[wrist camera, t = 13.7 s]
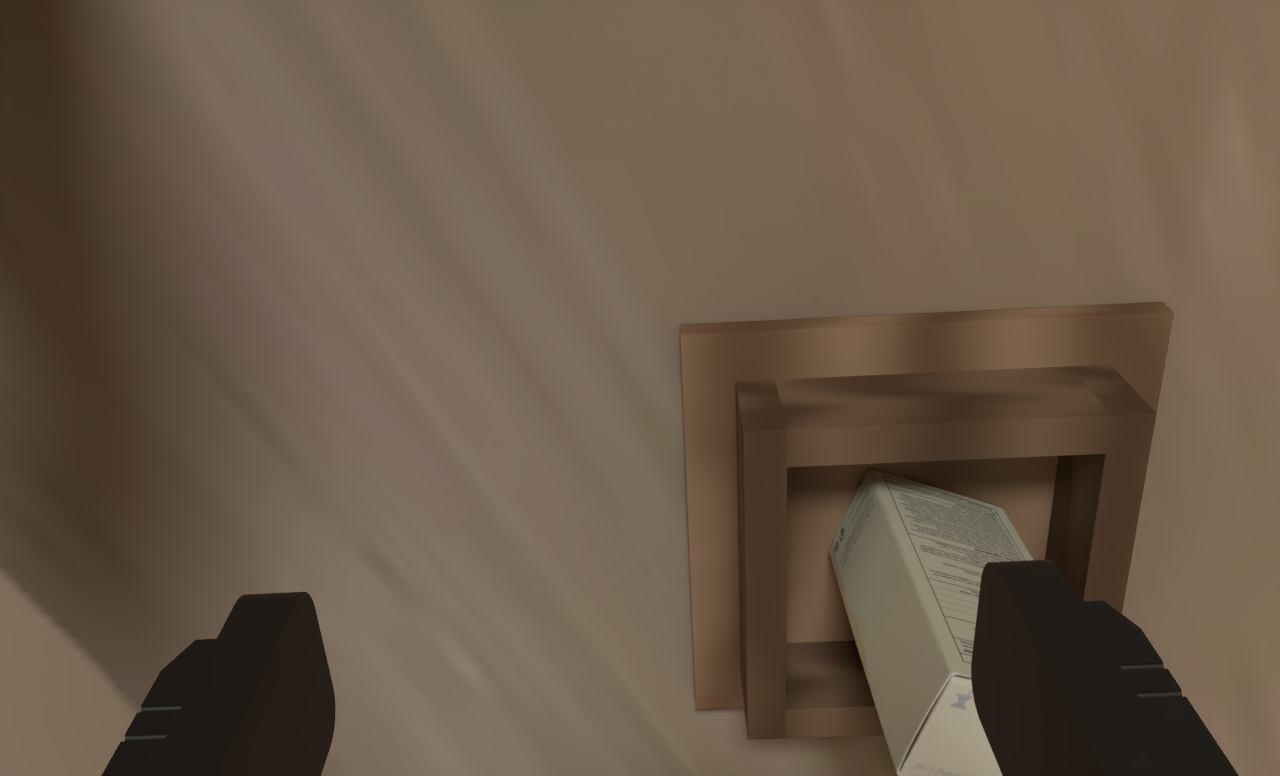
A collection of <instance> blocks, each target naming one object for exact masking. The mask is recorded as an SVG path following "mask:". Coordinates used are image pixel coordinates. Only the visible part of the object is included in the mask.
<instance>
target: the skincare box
mask: <svg viewBox="0 0 1280 776" xmlns="http://www.w3.org/2000/svg"><path fill="white" fill-rule="evenodd" d="M829 557H830V559H831V563H832V566H833V569H834V572H835V576H836V579H837V582H838V586H839V589H840V592H841V595H842V599H843V602H844V605H845V609H846V612H847V615H848V618H849V622H850V625H851V628H852V632H853V635H854V638H855V642H856V645H857V648H858V651H859V655H860V658H861V661H862V664H863V668H864V671H865V674H866V678H867V681H868V684H869V687H870V690H871V693H872V697H873V700H874V703H875V707H876V710H877V713H878V716H879V720H880V723H881V725H882V729H883V732H884V736H885V739H886V742H887V745H888V748H889V752H890V755H891V758H892V761H893V765H894V768H895V771H896V774H897V775H898V776H1002V773H1001V771H1000V768H999V766H998V763H997V761H996V759H995V756H994V754H993V751H992V749H991V746H990V744H989V741H988V739H987V737H986V734H985V732H984V729H983V727H982V724H981V722H980V719H979V717H978V714H977V710H976V706H975V702H974V697H973V690H972V681H971V661H972V652H973V644H974V635H975V627H976V618H977V610H978V601H979V592H980V584H981V577H982V572H983V569H984V566H985V565H986V564H987V563H988V562H1005V561H1027V560H1034V559H1033V557H1032V556H1031V554H1030V552H1029V551H1028V549H1027V548H1026V546H1025V544H1024V543H1023V541H1022V539H1021V538H1020V536H1019V534H1018V533H1017V531H1016V529H1015V528H1014V526H1013V525H1012V523H1011V521H1010V520H1009V518H1008V516H1007V515H1006V513H1005V511H1004V510H1003V509H1002V508H1000V507H996V506H993V505H991V504H987V503H984V502H981V501H978V500H975V499H972V498H969V497H966V496H962V495H959V494H956V493H953V492H949V491H946V490H943V489H939V488H936V487H933V486H929V485H926V484H923V483H920V482H916V481H913V480H910V479H906V478H903V477H899V476H895V475H891V474H888V473H884V472H880V471H877V470H872V469H870V470H868V471H867V472H866V474H865V476H864V478H863V480H862V482H861V484H860V486H859V488H858V490H857V492H856V494H855V496H854V497H853V500H852V502H851V504H850V506H849V508H848V510H847V512H846V514H845V516H844V518H843V520H842V522H841V524H840V526H839V529H838V531H837V533H836V535H835V537H834V540H833V542H832V544H831V546H830V548H829Z"/></svg>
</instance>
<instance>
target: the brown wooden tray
mask: <svg viewBox="0 0 1280 776" xmlns="http://www.w3.org/2000/svg"><path fill="white" fill-rule="evenodd" d="M1173 315H1174V312H1173V311H1172V310H1171V309H1170V308H1169V307H1167V306H1166V305H1165V304H1164V303H1163V302H1154V303H1133V304H1111V305H1090V306H1069V307H1047V308H1026V309H1005V310H984V311H962V312H941V313H920V314H899V315H877V316H856V317H835V318H813V319H792V320H771V321H750V322H728V323H707V324H686V325H680V343H681V367H682V390H683V414H684V438H685V462H686V486H687V510H688V533H689V557H690V581H691V605H692V629H693V653H694V676H695V699H696V709H717V708H745V716H746V725H747V735H748V739H776V738H805V737H834V736H864V735H884V732H883V729H882V725H881V723H880V720H879V716H878V713H877V710H876V707H875V703H874V700H873V697H872V693H871V690H870V687H869V684H868V681H867V678H866V674H865V671H864V668H863V664H862V661H861V658H860V655H859V651H858V648H857V645H856V642H855V638H854V635H853V632H852V628H851V625H850V622H849V618H848V615H847V612H846V609H845V605H844V602H843V599H842V595H841V592H840V589H839V586H838V582H837V579H836V576H835V572H834V569H833V566H832V563H831V559H830V557H829V548H830V546H831V544H832V542H833V540H834V537H835V535H836V533H837V531H838V529H839V526H840V524H841V522H842V520H843V518H844V516H845V514H846V512H847V510H848V508H849V506H850V504H851V502H852V500H853V497H854V496H855V494H856V492H857V490H858V488H859V486H860V484H861V482H862V480H863V478H864V476H865V474H866V472H867V471H868V470H870V469H872V470H877V471H880V472H884V473H888V474H891V475H895V476H899V477H903V478H906V479H910V480H913V481H916V482H920V483H923V484H926V485H929V486H933V487H936V488H939V489H943V490H946V491H949V492H953V493H956V494H959V495H962V496H966V497H969V498H972V499H975V500H978V501H981V502H984V503H987V504H991V505H993V506H996V507H1000V508H1002V509H1003V510H1004V511H1005V513H1006V515H1007V516H1008V518H1009V520H1010V521H1011V523H1012V525H1013V526H1014V528H1015V529H1016V531H1017V533H1018V534H1019V536H1020V538H1021V539H1022V541H1023V543H1024V544H1025V546H1026V548H1027V549H1028V551H1029V552H1030V554H1031V556H1032V557H1033V559H1034V560H1053V561H1055V562H1056V563H1057V564H1058V566H1059V567H1060V569H1061V570H1062V572H1063V574H1064V575H1065V577H1066V579H1067V580H1068V582H1069V583H1070V585H1071V587H1072V588H1073V590H1074V592H1075V593H1076V595H1077V597H1078V598H1079V600H1080V602H1082V601H1105V602H1106V603H1108V604H1109V605H1110V606H1112V607H1113V608H1114V609H1115V610H1117V611H1118V612H1119V613H1121V614H1122V609H1123V603H1124V597H1125V591H1126V586H1127V580H1128V574H1129V568H1130V562H1131V557H1132V551H1133V545H1134V539H1135V534H1136V528H1137V522H1138V516H1139V511H1140V505H1141V499H1142V493H1143V488H1144V482H1145V476H1146V470H1147V464H1148V459H1149V453H1150V447H1151V441H1152V436H1153V430H1154V424H1155V418H1156V413H1157V407H1158V401H1159V395H1160V389H1161V384H1162V378H1163V372H1164V366H1165V361H1166V355H1167V349H1168V343H1169V338H1170V332H1171V326H1172V320H1173Z"/></svg>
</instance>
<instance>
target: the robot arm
mask: <svg viewBox="0 0 1280 776" xmlns="http://www.w3.org/2000/svg"><path fill="white" fill-rule="evenodd" d="M971 681H972V690H973V697H974V702H975V706H976V710H977V714H978V717H979V719H980V722H981V724H982V727H983V729H984V732H985V734H986V737H987V739H988V741H989V744H990V746H991V749H992V751H993V754H994V756H995V759H996V761H997V763H998V766H999V768H1000V771H1001V773H1002V776H1238V774H1237V773H1236V771H1235V770H1234V768H1233V766H1232V765H1231V763H1230V762H1229V760H1228V759H1227V757H1226V756H1225V754H1224V753H1223V751H1222V750H1221V748H1220V747H1219V745H1218V744H1217V742H1216V741H1215V739H1214V738H1213V736H1212V735H1211V733H1210V732H1209V730H1208V729H1207V727H1206V726H1205V724H1204V723H1203V721H1202V720H1201V718H1200V717H1199V715H1198V714H1197V712H1196V711H1195V709H1194V708H1193V706H1192V705H1191V703H1190V702H1189V700H1188V699H1187V697H1183V696H1182V693H1181V688H1180V687H1179V685H1178V684H1177V682H1176V681H1175V679H1174V678H1173V676H1172V675H1171V673H1170V672H1169V670H1168V669H1164V667H1163V661H1162V660H1161V658H1160V657H1159V655H1158V654H1157V652H1156V651H1155V649H1154V648H1153V646H1152V645H1151V643H1150V642H1149V640H1148V639H1147V637H1146V636H1145V634H1144V633H1143V631H1142V630H1141V628H1139V627H1138V626H1137V625H1135V624H1134V623H1133V622H1131V621H1130V620H1129V619H1127V618H1126V617H1125V616H1123V615H1122V614H1121V613H1119V612H1118V611H1117V610H1115V609H1114V608H1113V607H1112V606H1110V605H1109V604H1108V603H1106V602H1105V601H1082V602H1080V600H1079V598H1078V597H1077V595H1076V593H1075V592H1074V590H1073V588H1072V587H1071V585H1070V583H1069V582H1068V580H1067V579H1066V577H1065V575H1064V574H1063V572H1062V570H1061V569H1060V567H1059V566H1058V564H1057V563H1056V562H1055V561H1053V560H1027V561H1005V562H988V563H987V564H986V565H985V566H984V569H983V572H982V577H981V584H980V592H979V601H978V610H977V618H976V627H975V635H974V644H973V652H972V661H971ZM141 707H142V710H141V713H137V714H136V716H135V718H134V719H133V721H132V723H131V725H130V726H129V728H128V730H127V732H126V734H125V741H124V742H120V744H119V746H118V748H117V750H116V751H115V753H114V755H113V757H112V758H111V760H110V762H109V764H108V765H107V767H106V769H105V771H104V772H103V774H102V776H321V773H322V770H323V767H324V764H325V761H326V758H327V755H328V752H329V749H330V746H331V742H332V738H333V732H334V725H335V696H334V690H333V685H332V680H331V676H330V671H329V667H328V663H327V658H326V654H325V650H324V645H323V641H322V636H321V632H320V628H319V623H318V619H317V615H316V610H315V606H314V603H313V600H312V598H311V596H310V595H309V594H308V593H307V592H291V593H270V594H248V595H242V596H241V597H240V598H239V599H238V600H237V602H236V603H235V605H234V607H233V609H232V611H231V613H230V615H229V617H228V618H227V620H226V622H225V624H224V626H223V628H222V630H221V632H220V634H219V636H218V638H217V639H205V640H195V641H194V642H193V643H192V644H191V645H190V646H188V647H187V648H186V649H185V650H184V651H183V652H182V653H181V654H179V655H178V656H177V657H176V658H175V659H174V660H173V661H172V662H170V663H169V664H168V665H167V666H166V667H165V668H164V669H163V670H162V671H161V672H160V674H159V675H158V677H157V679H156V681H155V682H154V684H153V686H152V688H151V689H150V691H149V693H148V695H147V697H146V698H145V700H144V702H143V704H142V705H141Z"/></svg>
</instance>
